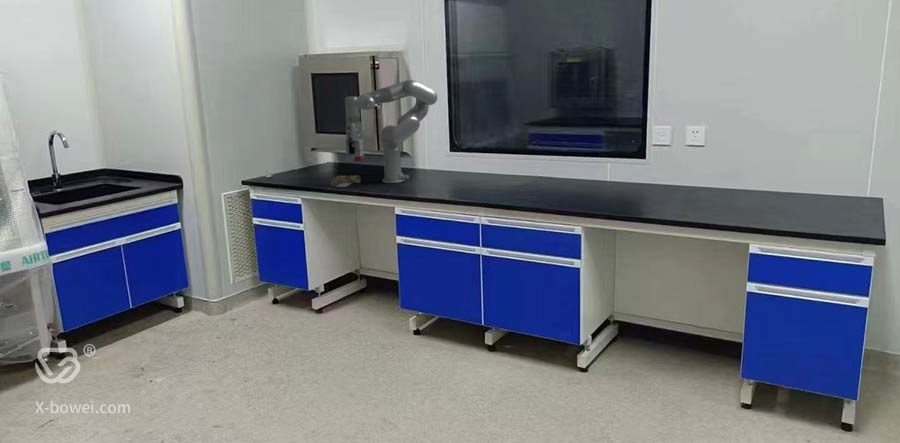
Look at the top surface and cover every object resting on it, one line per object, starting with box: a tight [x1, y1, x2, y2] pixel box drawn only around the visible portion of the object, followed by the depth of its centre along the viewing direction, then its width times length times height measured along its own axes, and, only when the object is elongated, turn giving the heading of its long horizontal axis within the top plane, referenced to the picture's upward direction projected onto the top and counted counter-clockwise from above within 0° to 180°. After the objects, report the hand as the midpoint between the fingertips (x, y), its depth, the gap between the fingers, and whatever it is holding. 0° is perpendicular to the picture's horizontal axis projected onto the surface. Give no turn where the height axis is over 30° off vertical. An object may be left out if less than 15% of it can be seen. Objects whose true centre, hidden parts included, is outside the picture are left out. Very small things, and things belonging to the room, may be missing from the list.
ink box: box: [345, 139, 365, 162], centre depth 366 cm, size 9×5×12 cm, turn 71°
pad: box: [334, 183, 353, 188], centre depth 374 cm, size 6×10×1 cm, turn 169°
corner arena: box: [330, 175, 361, 187], centre depth 375 cm, size 13×12×4 cm
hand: (355, 152), depth 366 cm, fingers closed on ink box, 5 cm apart
